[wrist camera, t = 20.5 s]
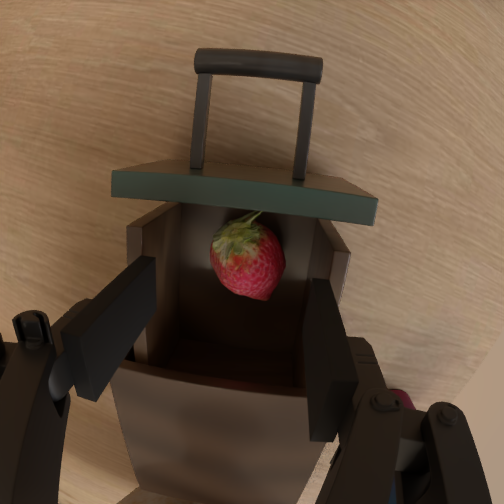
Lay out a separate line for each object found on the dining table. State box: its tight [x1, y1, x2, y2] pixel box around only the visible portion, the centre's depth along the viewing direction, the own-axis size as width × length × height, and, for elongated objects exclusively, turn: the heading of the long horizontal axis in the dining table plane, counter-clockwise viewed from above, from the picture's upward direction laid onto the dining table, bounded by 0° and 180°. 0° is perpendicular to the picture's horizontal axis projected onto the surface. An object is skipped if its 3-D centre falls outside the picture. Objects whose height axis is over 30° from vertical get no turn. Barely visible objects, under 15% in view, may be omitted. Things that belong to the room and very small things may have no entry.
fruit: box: [210, 211, 286, 301], centre depth 18 cm, size 4×6×5 cm
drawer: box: [111, 48, 378, 388], centre depth 18 cm, size 20×11×8 cm, turn 174°
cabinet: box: [110, 345, 326, 504], centre depth 22 cm, size 15×13×10 cm
